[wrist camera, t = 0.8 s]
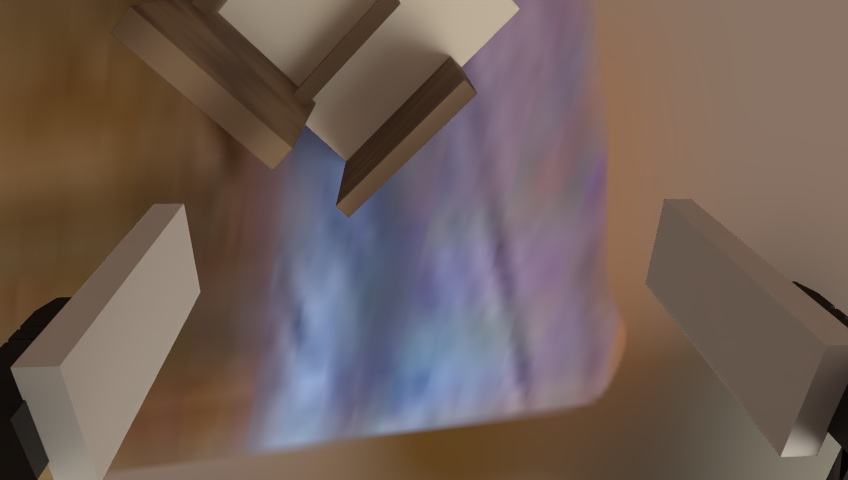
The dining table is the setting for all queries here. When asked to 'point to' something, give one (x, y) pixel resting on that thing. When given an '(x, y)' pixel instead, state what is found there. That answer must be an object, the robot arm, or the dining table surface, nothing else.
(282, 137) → the bookend
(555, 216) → the dining table surface
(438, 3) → the shelf board
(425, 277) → the dining table surface
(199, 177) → the dining table surface
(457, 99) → the dark wooden panel
